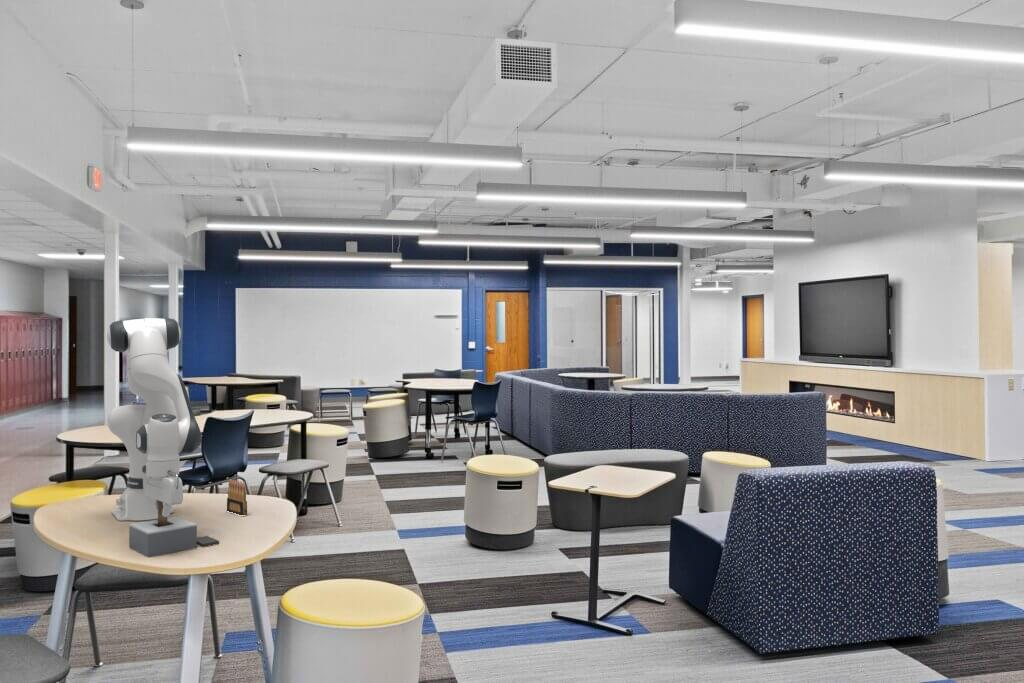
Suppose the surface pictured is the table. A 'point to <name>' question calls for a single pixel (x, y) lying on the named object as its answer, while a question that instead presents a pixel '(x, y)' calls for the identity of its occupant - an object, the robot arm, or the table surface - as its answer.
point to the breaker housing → (162, 536)
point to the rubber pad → (206, 541)
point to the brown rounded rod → (161, 520)
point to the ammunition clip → (237, 498)
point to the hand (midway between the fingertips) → (162, 515)
